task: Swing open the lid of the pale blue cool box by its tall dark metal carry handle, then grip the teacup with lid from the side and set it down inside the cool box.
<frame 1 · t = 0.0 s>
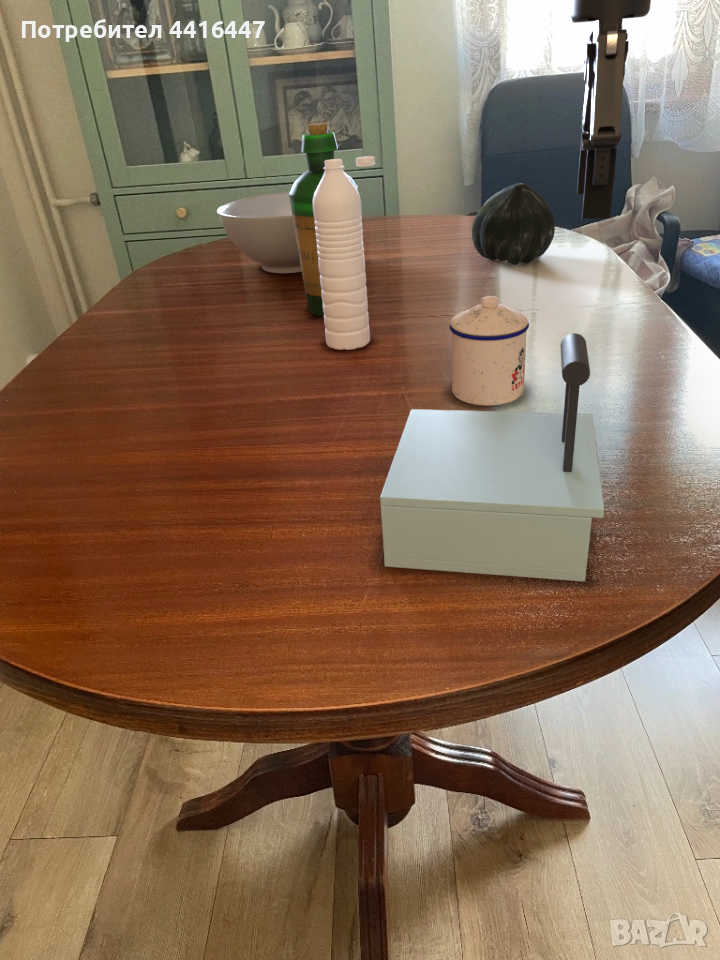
hand: (592, 205, 80), 20 cm above the table, tool pointing down, fingers open, 13 cm apart
squash: (512, 261, 140), on the table
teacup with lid: (486, 388, 90), on the table
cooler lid: (495, 405, 59), point 11 cm above the table, hinge at 0.0°
cool box: (488, 518, 65), on the table
decorative bowl: (292, 266, 148), on the table
water bottle: (355, 344, 107), on the table
bottle: (334, 311, 121), on the table
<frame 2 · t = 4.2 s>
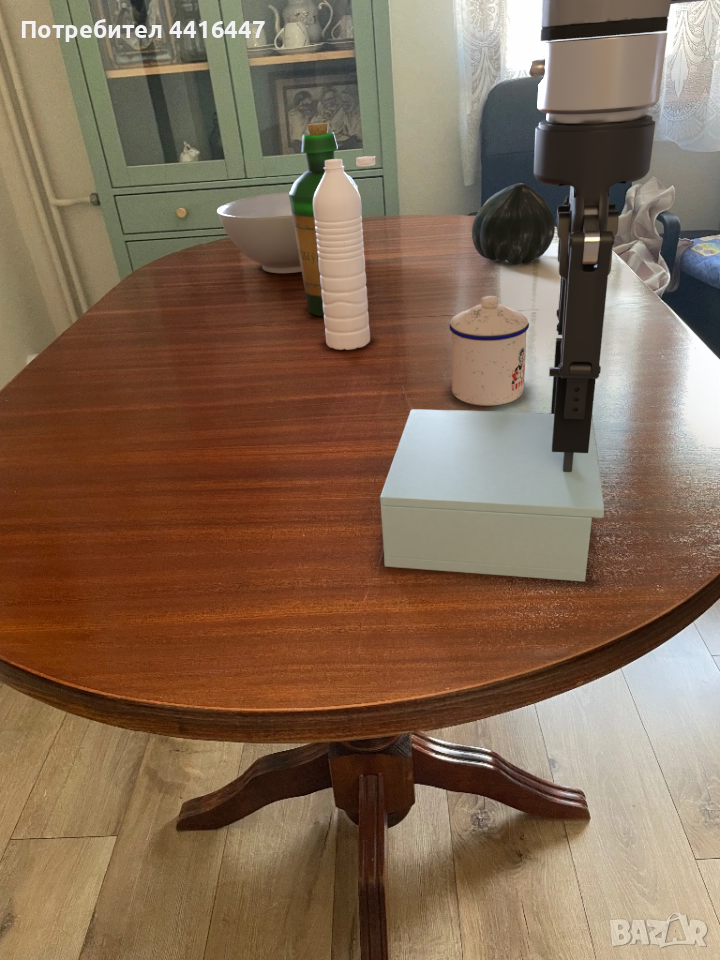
hand: (568, 429, 59), 9 cm above the table, tool pointing down, fingers closed on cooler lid, 6 cm apart
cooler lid: (495, 405, 59), point 11 cm above the table, hinge at 0.0°, touching gripper
everything else where it was.
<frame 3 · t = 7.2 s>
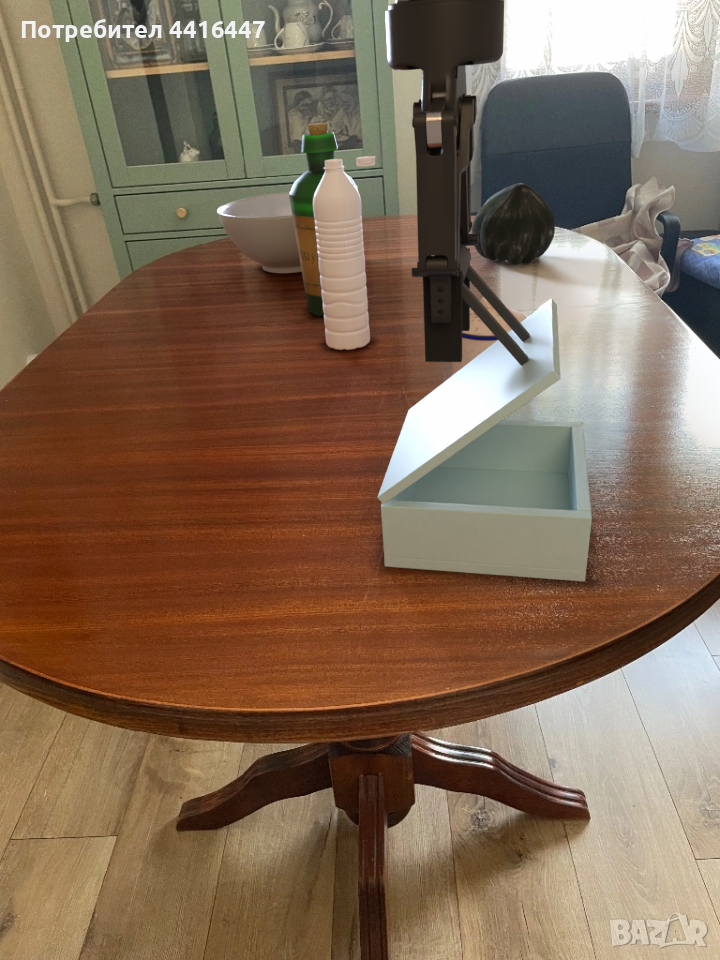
hand: (448, 343, 58), 17 cm above the table, tool pointing down, fingers closed on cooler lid, 6 cm apart
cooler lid: (432, 355, 58), point 16 cm above the table, hinge at 40.6°, touching gripper
everything else where it was.
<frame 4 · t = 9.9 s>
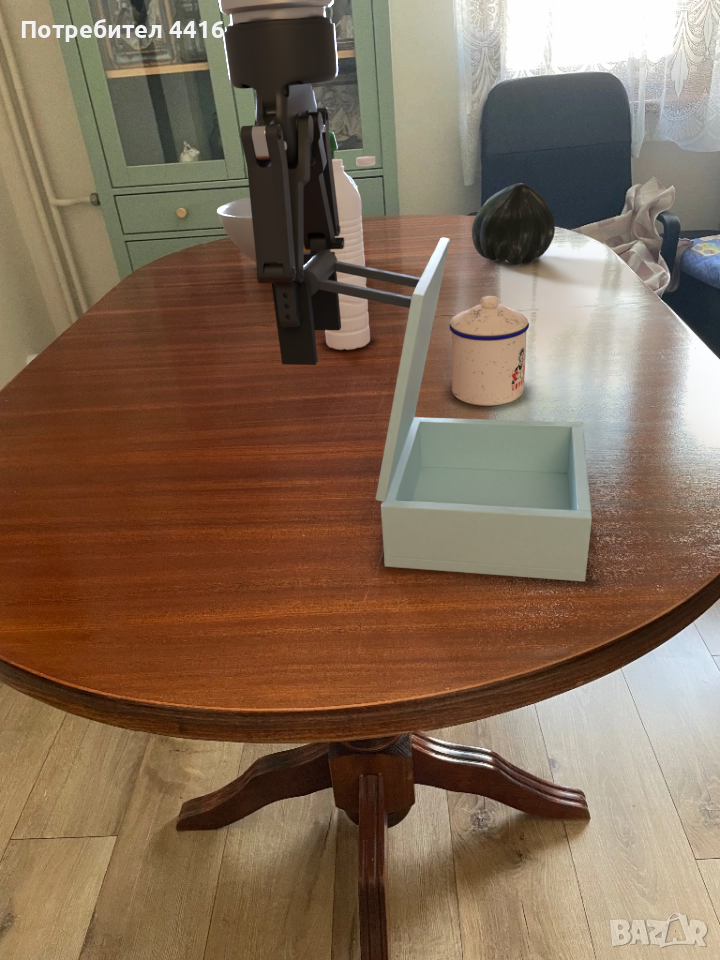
hand: (313, 344, 60), 16 cm above the table, tool pointing down, fingers open, 7 cm apart
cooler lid: (357, 352, 60), point 16 cm above the table, hinge at 77.9°
everything else where it was.
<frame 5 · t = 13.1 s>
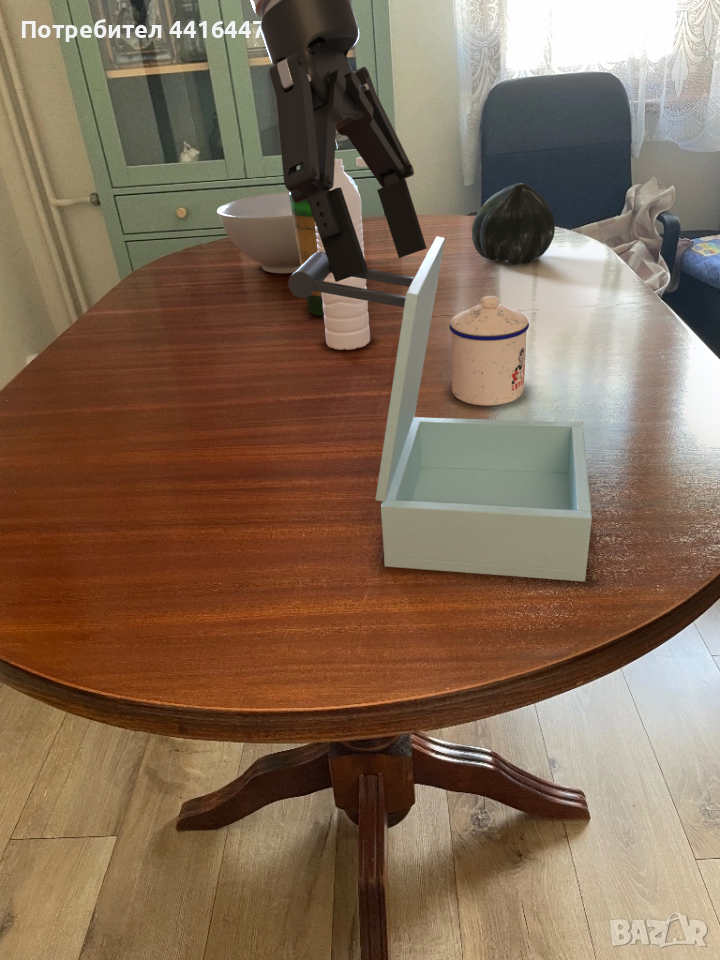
hand: (385, 265, 64), 21 cm above the table, tool tilted 20°, fingers open, 13 cm apart
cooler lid: (355, 353, 60), point 16 cm above the table, hinge at 79.3°, touching gripper
everything else where it was.
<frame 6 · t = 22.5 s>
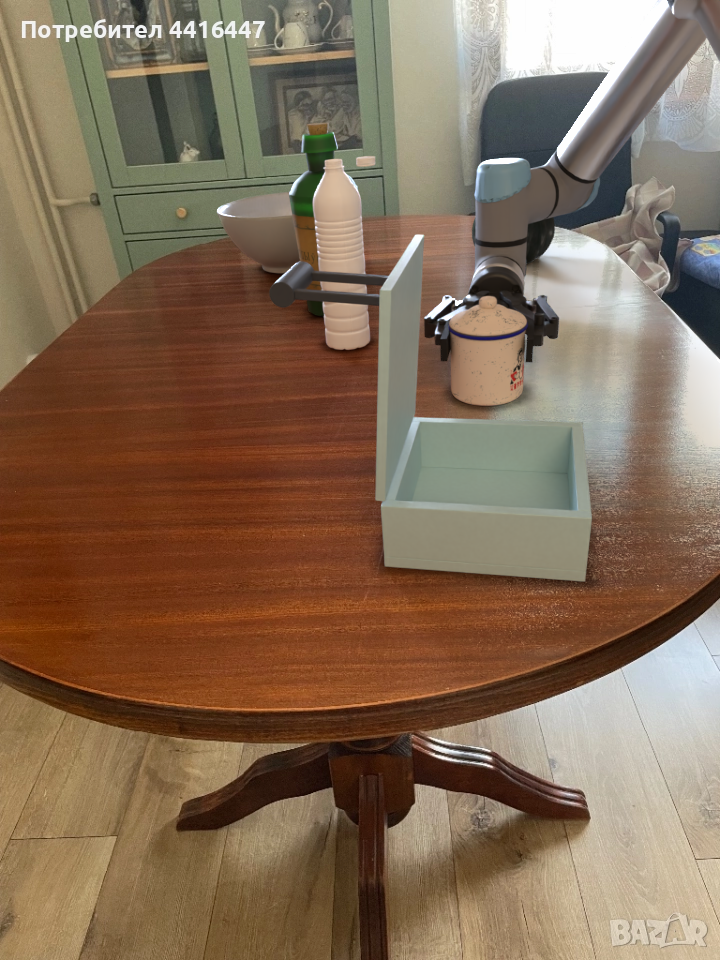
hand: (486, 350, 83), 7 cm above the table, tool horizontal, fingers closed on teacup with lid, 9 cm apart
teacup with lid: (486, 388, 90), on the table, touching gripper
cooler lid: (344, 357, 60), point 15 cm above the table, hinge at 85.5°
everything else where it was.
when the fingers open (7 cm above the table, at t = 33.0 s): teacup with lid stays where it is, resting on cool box.
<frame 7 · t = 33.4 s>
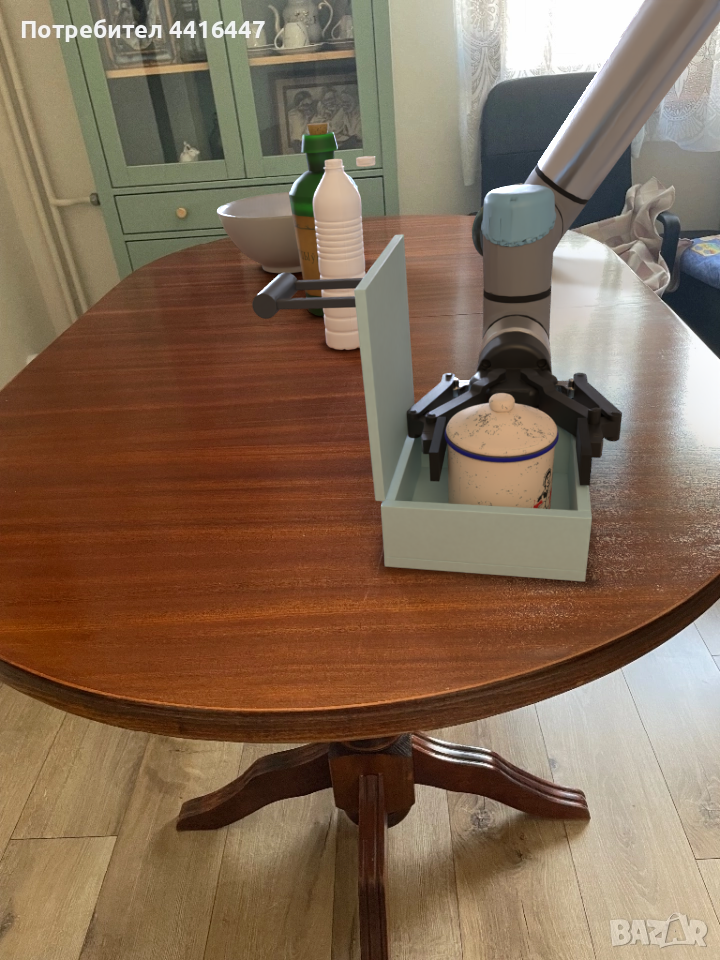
hand: (508, 468, 58), 8 cm above the table, tool horizontal, fingers open, 11 cm apart
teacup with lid: (497, 512, 65), point 1 cm above the table, touching cool box
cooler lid: (334, 363, 61), point 15 cm above the table, hinge at 91.4°, touching gripper, hand
everything else where it was.
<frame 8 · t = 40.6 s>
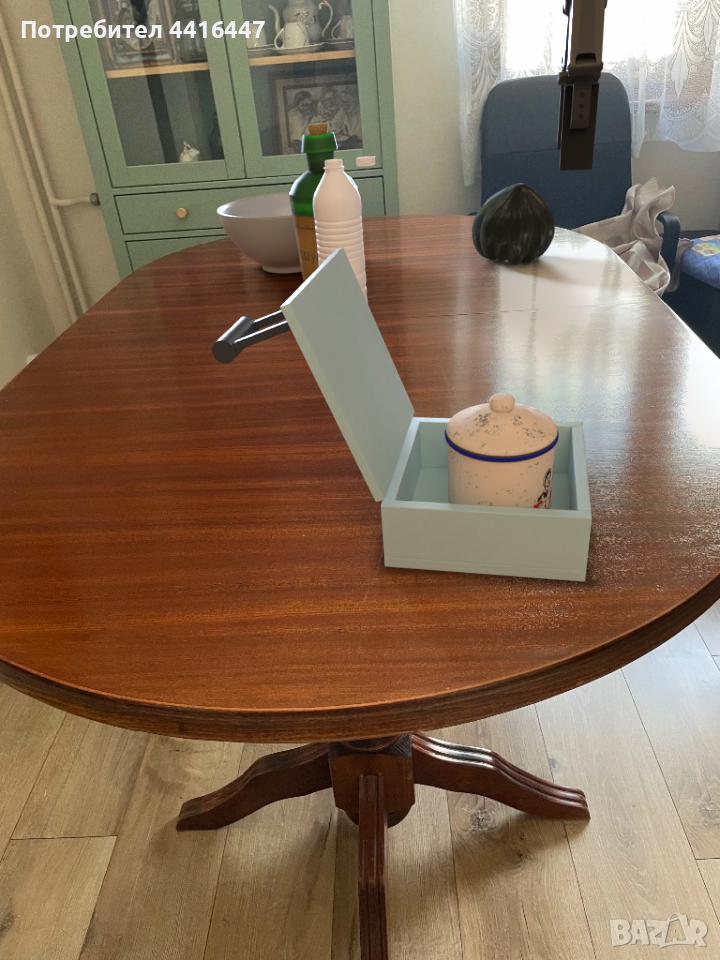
hand: (572, 158, 69), 27 cm above the table, tool pointing down, fingers open, 13 cm apart
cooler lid: (309, 385, 62), point 13 cm above the table, hinge at 110.4°
everything else where it was.
at the end: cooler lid at +110° (first picture: +0°); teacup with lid inside the target area in the cool box (0.8 cm from its centre), point 0.8 cm above the cool box's base; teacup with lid tilted 0° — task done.
